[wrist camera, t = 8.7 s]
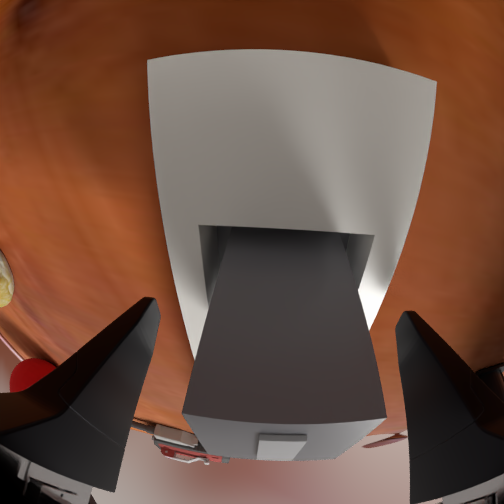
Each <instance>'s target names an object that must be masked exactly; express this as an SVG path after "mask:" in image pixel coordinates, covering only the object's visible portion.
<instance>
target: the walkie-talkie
mask: <svg viewBox="0 0 504 504" xmlns="http://www.w3.org/2000/svg"><path fill="white" fill-rule="evenodd" d="M131 427H134V428H137V429H140V430H143V431H146V432H147V433H150V434H154V435H153V436H152V440H154V444H155V445H156V446H157V447H158V448H159V449H161V452H162V454H163V455H164V456H165V457H167V458H169V459H174V460H178V461H182V462H186V463H191V462H194V461H197V460H202V461H204V464H206V465H208V464H209V461H215V462H222V463H228V462H229V460H230V457H224V456H216V455H210V454H208V453H207V452H206V450H205V449H204V447H203V446H202V444H201V443H200V441H199V440H198V438H197V437H196V435H194V434H191V433H188V432H186V431H182V430H178V429H174V428H170V427H166V426H163V425H160V424H156V427H154V426H151V425H144V424H141V423H138V422H135V421H132V424H131ZM176 454H180V455H184V456H189V457H194V458H193V459H190V460H185V459H181V458H177V457H176ZM205 461H207V462H205Z"/></svg>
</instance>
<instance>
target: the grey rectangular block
mask: <svg viewBox="0 0 504 504" xmlns="http://www.w3.org/2000/svg"><path fill="white" fill-rule="evenodd" d="M182 415H183V416H184V418H185V420H186V421H187V423H188V424H189V426H190V428H191V429H192V431H193V432H194V434H195V435H196V437H197V438H198V440H199V441H200V443H201V444H202V446H203V447H204V449H205V450H206V452H207V453H208V454H210V455H216V456H224V457H233V458H242V459H255V460H256V459H257V460H276V461H305V460H326V459H335V458H337V457H338V456H340V455H341V454H342V453H344V452H345V451H347V450H348V449H349V448H350V447H352V446H353V445H354V444H356V443H357V442H359V441H360V440H361V439H362V438H363V437H365V436H366V435H367V434H369V433H370V432H371V431H372V430H373V429H375V428H376V427H377V426H378V425H379V424H381V423H382V422H383V421H384V420H385V419H386V418H387V415H386V409H385V403H384V397H383V392H382V387H381V382H380V377H379V372H378V367H377V362H376V358H375V354H374V349H373V345H372V341H371V337H370V333H369V329H368V325H367V321H366V317H365V314H364V310H363V306H362V303H361V299H360V296H359V292H358V289H357V286H356V282H355V279H354V276H353V273H352V270H351V266H350V263H349V260H348V257H347V254H346V251H345V248H344V245H343V242H342V239H341V237H340V234H339V232H327V231H312V230H296V229H279V228H260V227H239V226H232V229H231V232H230V235H229V239H228V242H227V245H226V249H225V252H224V256H223V259H222V263H221V266H220V270H219V273H218V277H217V280H216V284H215V287H214V291H213V294H212V298H211V302H210V305H209V309H208V313H207V316H206V320H205V324H204V327H203V331H202V335H201V339H200V342H199V346H198V350H197V354H196V358H195V362H194V366H193V369H192V373H191V377H190V381H189V385H188V389H187V393H186V397H185V401H184V406H183V410H182Z"/></svg>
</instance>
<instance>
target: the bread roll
mask: <svg viewBox="0 0 504 504" xmlns="http://www.w3.org/2000/svg"><path fill="white" fill-rule="evenodd" d="M13 292H14V279H13V275H12V272H11V270H10V267H9V264H8V262H7V260H6V258H5V257H4V255H3V253H2V252H1V250H0V308H1V307H3V306H6V305H7V304H8V303H9V302H10V301H11V299H12V295H13Z"/></svg>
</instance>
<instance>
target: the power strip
mask: <svg viewBox="0 0 504 504" xmlns="http://www.w3.org/2000/svg"><path fill="white" fill-rule="evenodd" d="M147 72H148V96H149V112H150V125H151V136H152V146H153V156H154V164H155V172H156V180H157V187H158V194H159V201H160V208H161V214H162V220H163V226H164V232H165V237H166V243H167V248H168V253H169V258H170V263H171V268H172V273H173V277H174V282H175V286H176V291H177V295H178V299H179V303H180V308H181V312H182V316H183V320H184V324H185V327H186V331H187V335H188V339H189V342H190V346H191V350H192V353H193V357H194V360H195V358H196V354H197V350H198V346H199V342H200V339H201V335H202V331H203V327H204V324H205V320H206V316H207V313H208V309H209V305H210V302H211V298H212V294H213V291H214V287H215V284H216V280H217V277H218V273H219V270H220V266H221V263H222V259H223V256H224V252H225V249H226V245H227V242H228V239H229V235H230V232H231V229H232V226H239V227H260V228H279V229H296V230H312V231H327V232H339V234H340V237H341V239H342V242H343V245H344V248H345V251H346V254H347V257H348V260H349V263H350V266H351V270H352V273H353V276H354V279H355V282H356V286H357V289H358V292H359V296H360V299H361V303H362V306H363V310H364V314H365V317H366V321H367V325H368V329H369V330H370V328H371V325H372V323H373V321H374V319H375V317H376V315H377V312H378V310H379V308H380V305H381V303H382V301H383V298H384V296H385V294H386V291H387V289H388V286H389V284H390V281H391V279H392V276H393V274H394V271H395V268H396V266H397V263H398V260H399V257H400V254H401V251H402V249H403V246H404V243H405V240H406V236H407V233H408V230H409V227H410V224H411V220H412V217H413V213H414V210H415V206H416V202H417V199H418V195H419V191H420V187H421V182H422V178H423V174H424V169H425V164H426V159H427V154H428V149H429V143H430V137H431V131H432V124H433V116H434V108H435V98H436V85H437V82H436V81H433V80H431V79H428V78H425V77H422V76H419V75H416V74H413V73H410V72H406V71H403V70H400V69H396V68H393V67H389V66H385V65H381V64H377V63H372V62H368V61H363V60H358V59H353V58H348V57H342V56H336V55H329V54H321V53H313V52H303V51H290V50H268V49H240V50H218V51H205V52H195V53H187V54H179V55H172V56H166V57H160V58H155V59H149V60H147Z"/></svg>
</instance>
